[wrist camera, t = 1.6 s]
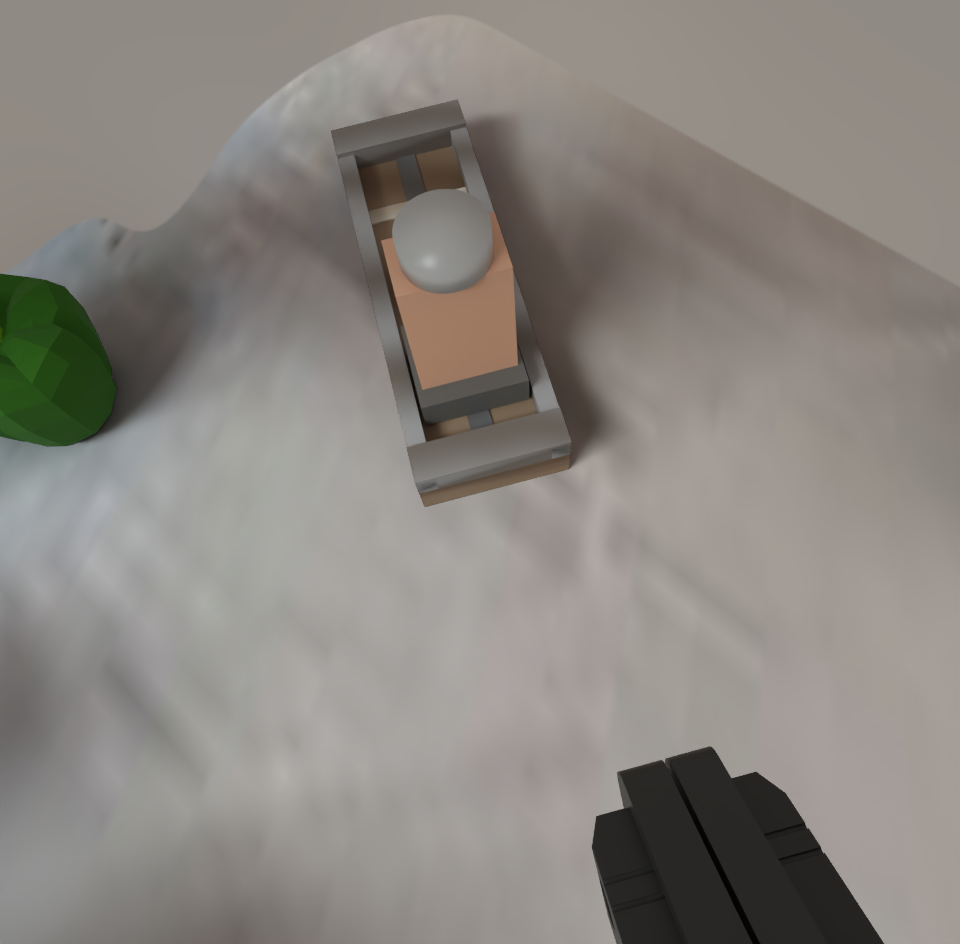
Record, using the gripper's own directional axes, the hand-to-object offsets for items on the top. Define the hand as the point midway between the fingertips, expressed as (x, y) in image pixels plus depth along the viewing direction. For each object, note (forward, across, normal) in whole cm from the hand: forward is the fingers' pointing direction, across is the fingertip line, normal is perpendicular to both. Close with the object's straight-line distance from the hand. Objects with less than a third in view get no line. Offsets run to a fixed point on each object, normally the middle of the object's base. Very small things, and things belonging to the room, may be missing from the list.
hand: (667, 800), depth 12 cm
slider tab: (+32, 0, +1) cm, 32 cm away
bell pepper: (+38, +23, -1) cm, 44 cm away
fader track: (+38, 0, -2) cm, 38 cm away
